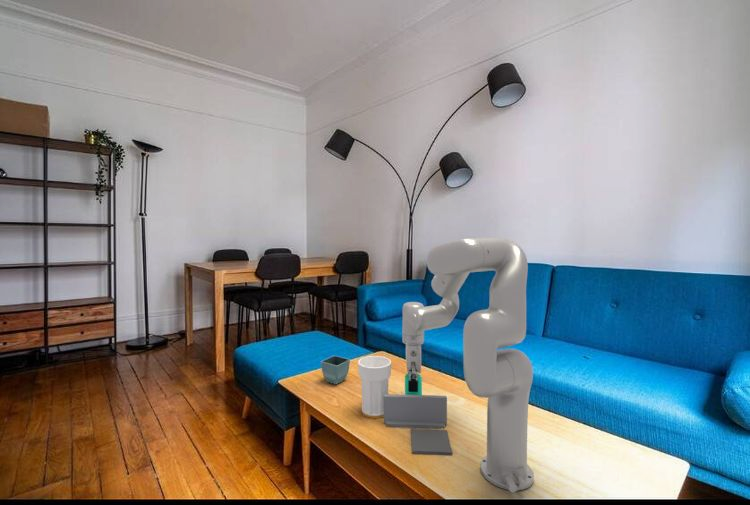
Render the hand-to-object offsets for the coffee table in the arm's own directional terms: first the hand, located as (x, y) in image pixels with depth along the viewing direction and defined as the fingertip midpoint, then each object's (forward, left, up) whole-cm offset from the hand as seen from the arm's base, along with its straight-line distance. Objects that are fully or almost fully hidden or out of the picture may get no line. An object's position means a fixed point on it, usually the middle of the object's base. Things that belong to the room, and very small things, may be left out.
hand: (412, 385), depth 124 cm
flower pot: (+18, +31, -7) cm, 36 cm away
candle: (0, 0, -7) cm, 7 cm away
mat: (-22, -4, -7) cm, 24 cm away
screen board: (-12, 0, -7) cm, 14 cm away
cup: (-6, +13, -7) cm, 16 cm away
